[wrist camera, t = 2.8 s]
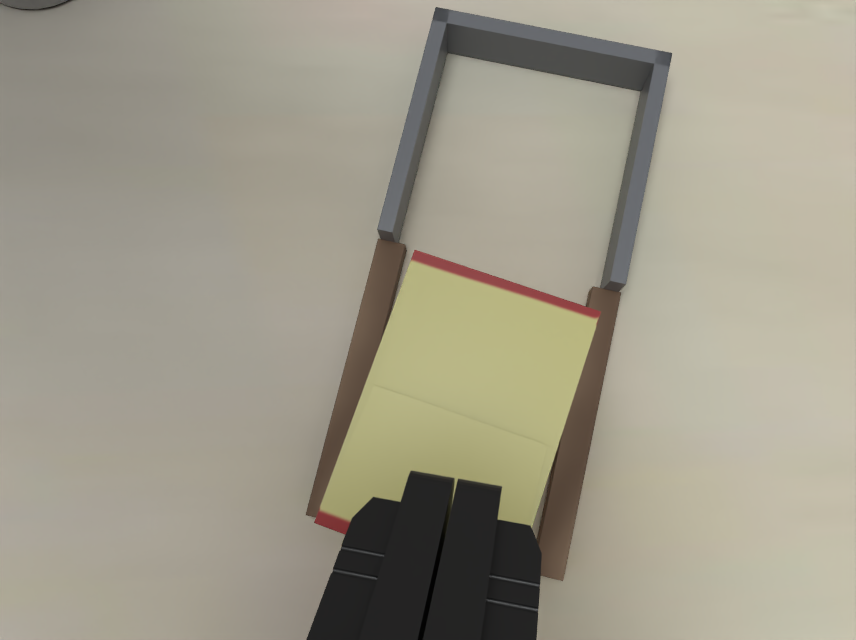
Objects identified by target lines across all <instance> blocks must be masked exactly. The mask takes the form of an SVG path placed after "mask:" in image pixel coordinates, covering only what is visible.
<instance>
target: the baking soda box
mask: <svg viewBox="0 0 856 640" xmlns="http://www.w3.org/2000/svg"><path fill="white" fill-rule="evenodd" d="M600 314H601V311H598V310H595V309H592V308H589V307H586V306H582V305H579V304H576V303H573V302H570V301H567V300H564V299H561V298H558V297H555V296H552V295H549V294H546V293H543V292H540V291H537V290H534V289H531V288H528V287H525V286H522V285H519V284H516V283H513V282H510V281H507V280H504V279H501V278H498V277H495V276H492V275H489V274H486V273H483V272H480V271H477V270H474V269H471V268H468V267H465V266H462V265H459V264H456V263H453V262H450V261H447V260H444V259H441V258H438V257H435V256H432V255H429V254H426V253H423V252H420V251H417V250H414V253H413V256H412V258H411V261H410V264H409V267H408V269H407V272H406V275H405V277H404V280H403V283H402V286H401V288H400V291H399V294H398V296H397V299H396V302H395V305H394V307H393V310H392V313H391V315H390V318H389V321H388V324H387V326H386V329H385V332H384V334H383V337H382V340H381V343H380V345H379V348H378V351H377V353H376V356H375V359H374V362H373V364H372V367H371V370H370V372H369V375H368V378H367V381H366V383H365V386H364V389H363V391H362V394H361V397H360V400H359V402H358V405H357V408H356V410H355V413H354V416H353V419H352V421H351V424H350V427H349V429H348V432H347V435H346V438H345V440H344V443H343V446H342V448H341V451H340V454H339V457H338V459H337V462H336V465H335V467H334V470H333V473H332V476H331V478H330V481H329V484H328V486H327V489H326V492H325V495H324V497H323V500H322V503H321V505H320V508H319V511H318V514H317V516H316V519H315V522H314V523H316V524H319V525H321V526H324V527H327V528H329V529H332V530H335V531H337V532H340V533H343V534H345V535H346V532H347V530H348V527H349V524H350V522H351V519H352V517H353V516H354V515H355V514H356V513H357V512H358V511H359V510H360V509H361V508H362V507H363V506H364V505H365V504H366V503H367V502H368V501H369V500H370V499H371V498H373V497H377V498H382V499H388V500H393V501H399V502H401V499H402V496H403V492H404V489H405V486H406V482H407V479H408V476H409V473H410V471H411V470H412V471H418V472H424V473H429V474H435V475H441V476H446V477H452V478H455V484H454V493H453V499H454V494H455V489H456V485H457V481H458V478H459V479H464V480H470V481H476V482H481V483H487V484H492V485H498V486H502V491H501V498H500V505H499V512H498V520H504V521H509V522H515V523H520V524H526V525H530V526H531V528H532V526H533V523H534V520H535V516H536V513H537V510H538V507H539V504H540V501H541V498H542V495H543V491H544V488H545V485H546V482H547V479H548V476H549V473H550V470H551V466H552V463H553V460H554V457H555V454H556V451H557V448H558V445H559V441H560V438H561V435H562V432H563V429H564V426H565V423H566V420H567V417H568V413H569V410H570V407H571V404H572V401H573V398H574V395H575V392H576V388H577V385H578V382H579V379H580V376H581V373H582V370H583V367H584V363H585V360H586V357H587V354H588V351H589V348H590V345H591V342H592V338H593V335H594V332H595V329H596V326H597V323H598V320H599V317H600ZM452 503H453V502H452Z"/></svg>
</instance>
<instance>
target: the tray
mask: <svg viewBox="0 0 856 640" xmlns="http://www.w3.org/2000/svg"><path fill="white" fill-rule="evenodd" d="M447 52H448V53H453V54H458V55H463V56H468V57H473V58H478V59H483V60H488V61H493V62H498V63H503V64H508V65H513V66H518V67H523V68H528V69H533V70H538V71H543V72H548V73H553V74H558V75H563V76H568V77H573V78H578V79H583V80H588V81H593V82H598V83H603V84H608V85H613V86H618V87H623V88H628V89H633V90H638V91H641V93H640V98H639V103H638V108H637V112H636V117H635V122H634V127H633V132H632V137H631V141H630V146H629V151H628V156H627V161H626V166H625V170H624V175H623V180H622V185H621V190H620V195H619V200H618V204H617V209H616V214H615V219H614V224H613V229H612V233H611V238H610V243H609V248H608V253H607V258H606V262H605V267H604V272H603V277H602V282H601V287H600V288H603V289H607V290H612V291H616V292H619V291H620V290H621V289H622V288H623V287H624V286H625V285H626V281H627V276H628V271H629V266H630V261H631V256H632V251H633V246H634V241H635V236H636V231H637V226H638V221H639V216H640V211H641V206H642V202H643V197H644V192H645V187H646V182H647V177H648V172H649V167H650V162H651V157H652V152H653V147H654V142H655V137H656V132H657V127H658V122H659V117H660V112H661V107H662V102H663V97H664V92H665V87H666V82H667V77H668V72H669V67H670V62H671V57H672V53H669V52H664V51H659V50H653V49H648V48H643V47H638V46H633V45H628V44H623V43H618V42H612V41H607V40H602V39H597V38H592V37H587V36H582V35H576V34H571V33H566V32H561V31H556V30H551V29H546V28H540V27H535V26H530V25H525V24H520V23H515V22H510V21H505V20H499V19H494V18H489V17H484V16H479V15H474V14H469V13H463V12H458V11H453V10H448V9H443V8H438V7H436V8H435V12H434V16H433V20H432V23H431V27H430V31H429V35H428V39H427V42H426V46H425V50H424V54H423V58H422V61H421V65H420V69H419V73H418V76H417V80H416V84H415V88H414V92H413V95H412V99H411V103H410V107H409V111H408V114H407V118H406V122H405V126H404V130H403V133H402V137H401V141H400V145H399V149H398V152H397V156H396V160H395V164H394V168H393V171H392V175H391V179H390V183H389V187H388V190H387V194H386V198H385V202H384V206H383V209H382V213H381V217H380V221H379V225H378V228H377V230H378V232H379V235H380V238H381V239H383V240H387V241H392V242H396V243H399V239H400V235H401V231H402V227H403V223H404V219H405V215H406V212H407V208H408V204H409V200H410V196H411V192H412V188H413V184H414V180H415V177H416V173H417V169H418V165H419V161H420V157H421V153H422V149H423V146H424V142H425V138H426V134H427V130H428V126H429V122H430V118H431V114H432V111H433V107H434V103H435V99H436V95H437V91H438V87H439V83H440V79H441V76H442V72H443V68H444V64H445V60H446V56H447Z"/></svg>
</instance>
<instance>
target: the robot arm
mask: <svg viewBox="0 0 856 640" xmlns="http://www.w3.org/2000/svg"><path fill="white" fill-rule="evenodd" d="M65 1H68V0H0V3H2V4H4V5H6V6H10V7H15V8H20V9H40V8H46V7H51V6H55V5H57V4H60V3H62V2H65ZM454 484H455V478H452V477H446V476H441V475H435V474H429V473H424V472H418V471H412V470H411V471H410V473H409V476H408V479H407V482H406V486H405V489H404V492H403V496H402V499H401V502H399V501H393V500H388V499H382V498H377V497H373V498H371V499H370V500H369V501H368V502H367V503H366V504H365V505H364V506H363V507H362V508H361V509H360V510H359V511H358V512H357V513H356V514H355V515H354V516H353V517H352V519H351V522H350V524H349V527H348V530H347V532H346V535H345V538H344V540H343V543H342V547H341V551H339V554H338V557H337V559H336V562H335V565H334V567H333V572H332V573H331V575H330V578H329V581H328V583H327V586H326V589H325V591H324V594H323V597H322V599H321V602H320V605H319V608H318V610H317V613H316V616H315V618H314V621H313V624H312V626H311V629H310V632H309V634H308V637H307V640H536V637H537V622H538V606H539V591H540V589H539V586H540V576H541V560H542V552H541V550H540V547H539V545H538V543H537V540H536V538H535V535H534V533H533V531H532V528H531V526H530V525H526V524H520V523H515V522H509V521H504V520H498V512H499V505H500V498H501V491H502V486H498V485H492V484H487V483H481V482H476V481H470V480H464V479H459V478H458V481H457V485H456V489H455V494H454V499H453V493H454ZM452 502H453V503H452Z"/></svg>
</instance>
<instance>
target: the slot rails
mask: <svg viewBox="0 0 856 640" xmlns="http://www.w3.org/2000/svg"><path fill="white" fill-rule="evenodd" d="M406 251H407V250H406V246H405V244H401V243H396V242H392V241H387V240H383V239H378V241H377V245H376V249H375V253H374V257H373V260H372V264H371V268H370V272H369V276H368V280H367V283H366V287H365V291H364V295H363V299H362V302H361V306H360V310H359V314H358V318H357V321H356V325H355V329H354V333H353V337H352V340H351V344H350V348H349V352H348V356H347V359H346V363H345V367H344V371H343V375H342V379H341V382H340V386H339V390H338V394H337V398H336V401H335V405H334V409H333V413H332V417H331V420H330V424H329V428H328V432H327V436H326V439H325V443H324V447H323V451H322V455H321V458H320V462H319V466H318V470H317V474H316V478H315V481H314V485H313V489H312V493H311V497H310V500H309V504H308V508H307V512H306V515H308V516H312V517H316V516H317V514H318V511H319V508H320V505H321V503H322V500H323V497H324V495H325V492H326V489H327V486H328V484H329V481H330V478H331V476H332V473H333V470H334V467H335V465H336V462H337V459H338V457H339V454H340V451H341V448H342V446H343V443H344V440H345V438H346V435H347V432H348V429H349V427H350V424H351V421H352V419H353V416H354V413H355V410H356V408H357V405H358V402H359V400H360V397H361V394H362V391H363V389H364V386H365V383H366V381H367V378H368V375H369V372H370V370H371V367H372V364H373V362H374V359H375V356H376V353H377V351H378V348H379V345H380V343H381V340H382V337H383V334H384V332H385V329H386V326H387V324H388V321H389V317H390V313H391V310H392V306H393V302H394V298H395V294H396V290H397V286H398V282H399V278H400V274H401V270H402V266H403V262H404V259H405V255H406ZM620 296H621V292H616V291H612V290H607V289H603V288H598V287H594V286H593V287H592V288H591V290H590V291H589V294H588V299H587V304H586V307H589V308H592V309H595V310H598V311H601V314H600V317H599V320H598V323H597V326H596V329H595V332H594V335H593V338H592V342H591V345H590V348H589V351H588V354H587V357H586V360H585V363H584V367H583V370H582V373H581V376H580V379H579V382H578V385H577V388H576V392H575V395H574V398H573V401H572V404H571V407H570V410H569V413H568V417H567V420H566V423H565V426H564V429H563V432H562V435H561V438H560V441H559V445H558V448H557V451H556V454H555V457H554V462H553V466H552V471H551V476H550V481H549V485H548V490H547V495H546V500H545V505H544V509H543V514H542V519H541V524H540V529H539V533H538V538H537V543H538V545H539V547H540V550H541V552H542V560H541V576H545V577H549V578H553V579H557V580H561V581H563V579H564V574H565V569H566V564H567V559H568V554H569V549H570V544H571V539H572V534H573V529H574V524H575V519H576V514H577V509H578V504H579V499H580V494H581V489H582V484H583V479H584V474H585V469H586V464H587V459H588V455H589V450H590V445H591V440H592V435H593V430H594V425H595V420H596V415H597V410H598V405H599V400H600V395H601V390H602V385H603V380H604V375H605V370H606V365H607V360H608V355H609V350H610V345H611V340H612V335H613V330H614V325H615V320H616V316H617V311H618V306H619V301H620Z"/></svg>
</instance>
